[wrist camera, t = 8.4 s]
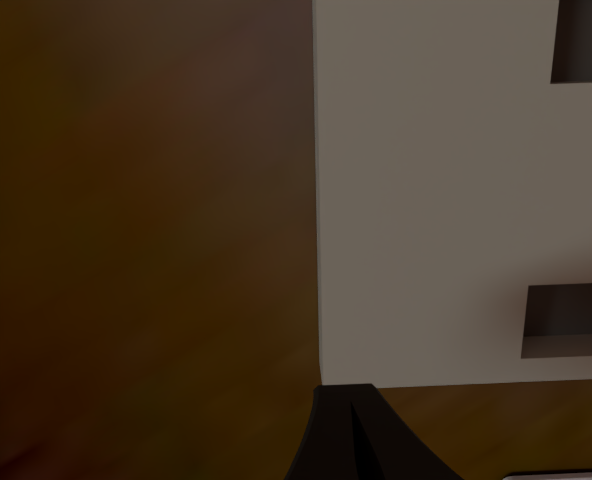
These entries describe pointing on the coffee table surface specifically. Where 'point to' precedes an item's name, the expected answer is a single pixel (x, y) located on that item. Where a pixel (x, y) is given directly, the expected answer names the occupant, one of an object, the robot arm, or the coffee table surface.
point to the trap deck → (453, 190)
